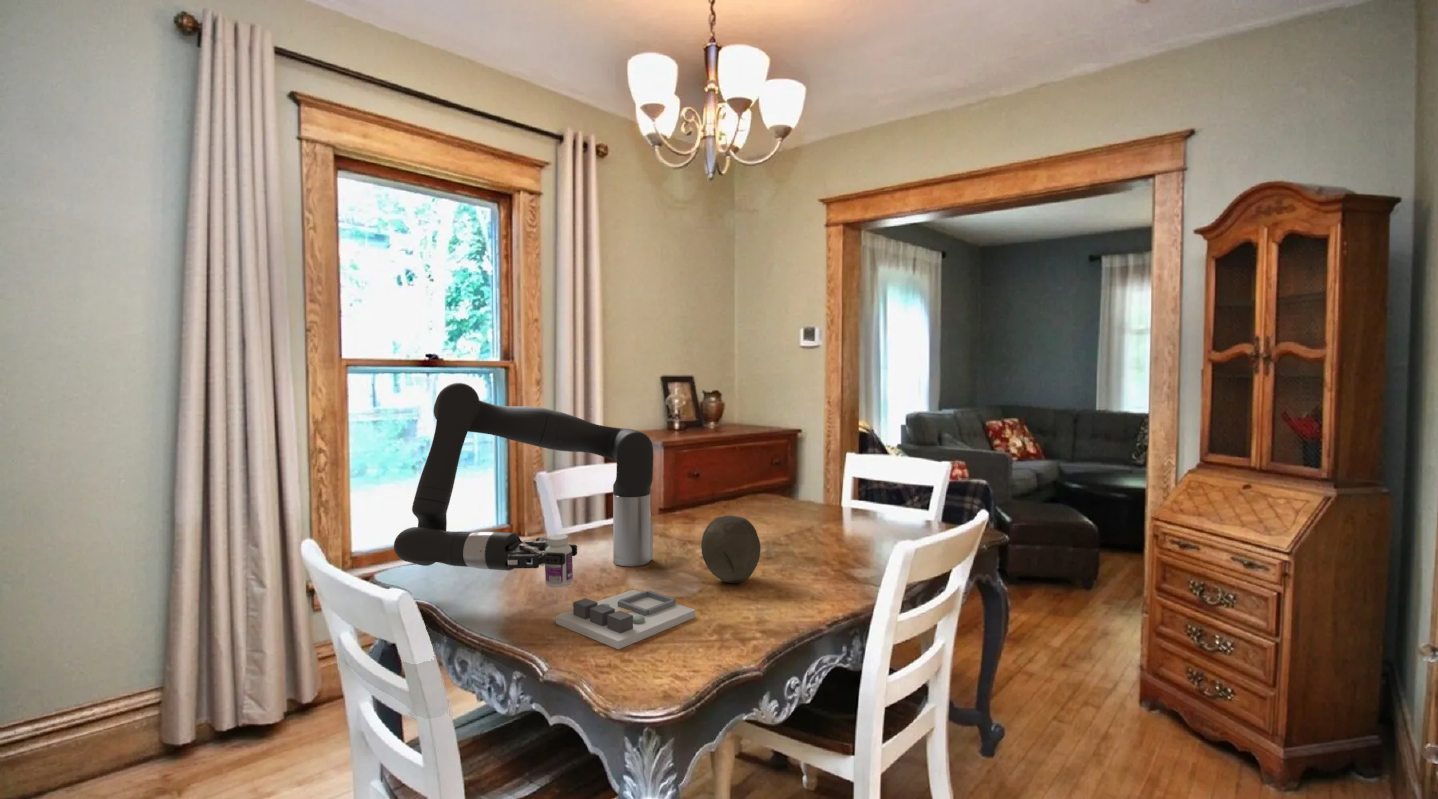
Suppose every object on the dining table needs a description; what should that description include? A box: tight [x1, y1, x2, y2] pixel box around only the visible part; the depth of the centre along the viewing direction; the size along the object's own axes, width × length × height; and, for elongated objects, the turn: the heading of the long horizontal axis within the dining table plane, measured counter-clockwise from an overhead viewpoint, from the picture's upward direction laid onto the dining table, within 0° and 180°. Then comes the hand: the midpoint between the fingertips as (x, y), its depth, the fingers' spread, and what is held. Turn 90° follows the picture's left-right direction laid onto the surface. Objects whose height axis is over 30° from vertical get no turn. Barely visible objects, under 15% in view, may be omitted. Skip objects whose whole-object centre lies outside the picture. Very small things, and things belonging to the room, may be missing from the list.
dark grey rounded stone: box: [700, 515, 761, 584], centre depth 156 cm, size 14×14×15 cm
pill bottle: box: [544, 533, 574, 588], centre depth 136 cm, size 5×5×10 cm
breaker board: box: [555, 589, 696, 650], centre depth 132 cm, size 20×18×4 cm
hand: (570, 554), depth 136 cm, fingers closed on pill bottle, 5 cm apart
